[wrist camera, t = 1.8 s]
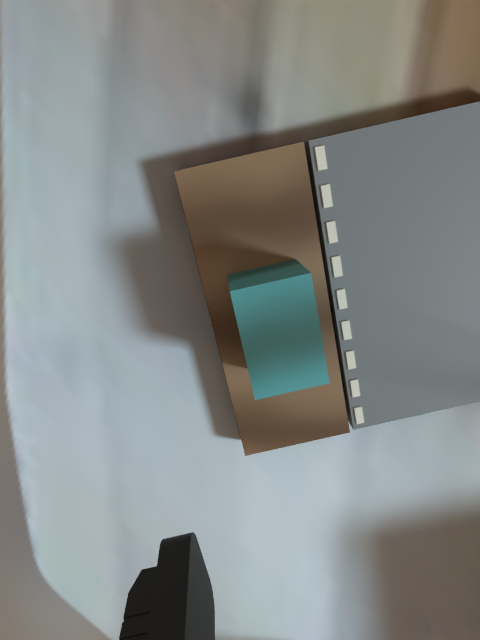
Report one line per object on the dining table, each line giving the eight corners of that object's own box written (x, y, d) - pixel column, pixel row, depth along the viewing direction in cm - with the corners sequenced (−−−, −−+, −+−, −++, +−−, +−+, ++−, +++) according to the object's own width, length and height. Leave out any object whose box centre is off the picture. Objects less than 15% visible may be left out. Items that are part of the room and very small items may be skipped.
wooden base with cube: (176, 171, 24) (166, 168, 19) (298, 143, 24) (322, 133, 19) (243, 442, 30) (250, 498, 24) (343, 420, 30) (371, 471, 24)
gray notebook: (302, 143, 24) (309, 140, 23) (494, 99, 24) (513, 93, 23) (346, 417, 30) (353, 430, 28) (502, 382, 30) (518, 393, 28)
